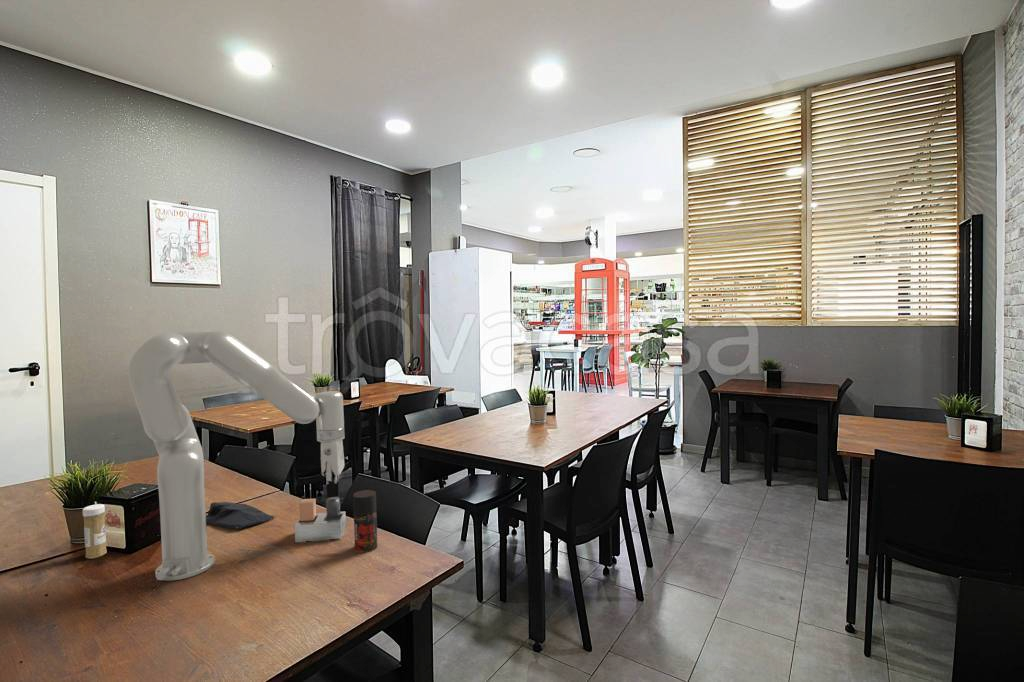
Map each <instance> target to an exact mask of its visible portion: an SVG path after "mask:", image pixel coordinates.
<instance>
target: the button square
mask: <svg viewBox="0 0 1024 682" xmlns="http://www.w3.org/2000/svg"><path fill="white" fill-rule="evenodd" d="M316 501H317V499H316V498H315V497H314V498H304V499H302V500H301V501H300V502H299V518H300V521H307V520H314V518H315V516H316V513H317V504H316Z"/></svg>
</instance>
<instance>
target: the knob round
mask: <svg viewBox="0 0 1024 682" xmlns="http://www.w3.org/2000/svg"><path fill="white" fill-rule="evenodd" d="M340 500H341V498H340V497H339V496H338V497H329V498H328V497H327V498H326V499H325V509H326V510H325V513H326V517H327V518H328V519H334V518H337V517H339V516H340V512H341V501H340Z"/></svg>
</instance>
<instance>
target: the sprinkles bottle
mask: <svg viewBox="0 0 1024 682" xmlns="http://www.w3.org/2000/svg"><path fill="white" fill-rule="evenodd" d="M105 513H106V508H105V504H102V503H96V504H92V505H87V506H85V507H84V508H82V516H83V524H84V527H83V530H84V531H83V533H84V535H83V536H84V547H85V556H84V557H85V558H86V559H88V560H90V559H91V560H92V559H97V558H100V557H102V556H104V555H105V554H107V551H108V550H107V537H106V533H107V532H106V523H105Z"/></svg>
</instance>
